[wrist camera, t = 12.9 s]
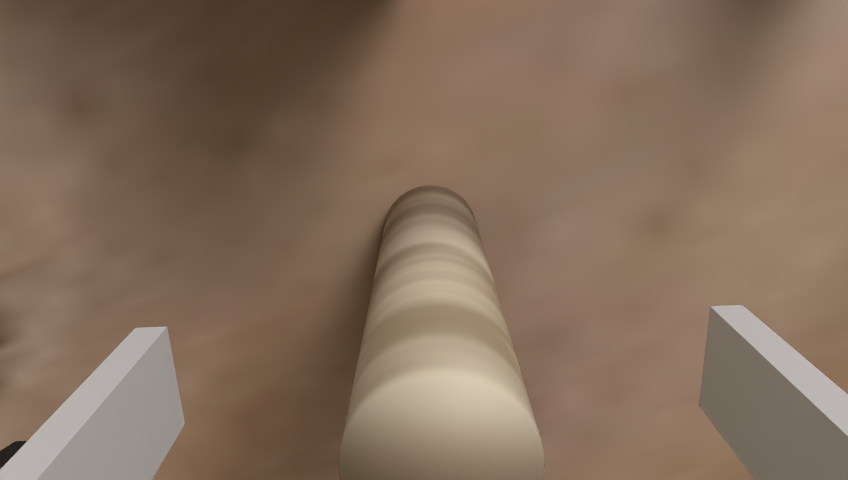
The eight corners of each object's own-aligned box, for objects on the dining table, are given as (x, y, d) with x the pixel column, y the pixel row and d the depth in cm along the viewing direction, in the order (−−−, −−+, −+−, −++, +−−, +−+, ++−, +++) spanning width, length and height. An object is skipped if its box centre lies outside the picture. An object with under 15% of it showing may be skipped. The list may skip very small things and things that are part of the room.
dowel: (476, 271, 28) (543, 547, 13) (387, 275, 28) (346, 554, 13) (475, 183, 27) (546, 372, 12) (382, 187, 27) (330, 380, 12)
